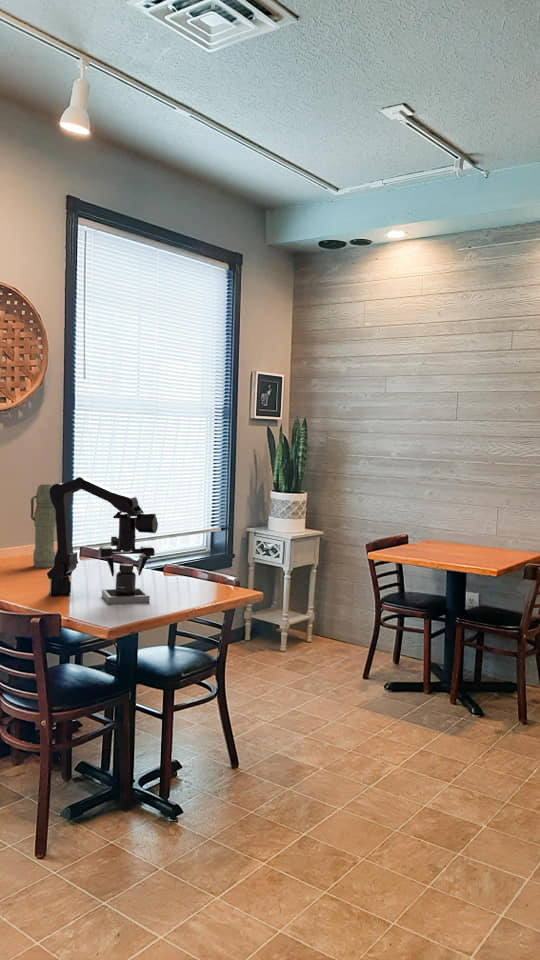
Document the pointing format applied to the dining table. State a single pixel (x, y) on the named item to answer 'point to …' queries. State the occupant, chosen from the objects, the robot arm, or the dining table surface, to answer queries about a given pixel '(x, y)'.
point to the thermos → (44, 528)
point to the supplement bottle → (125, 581)
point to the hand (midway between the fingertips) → (126, 575)
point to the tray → (125, 597)
